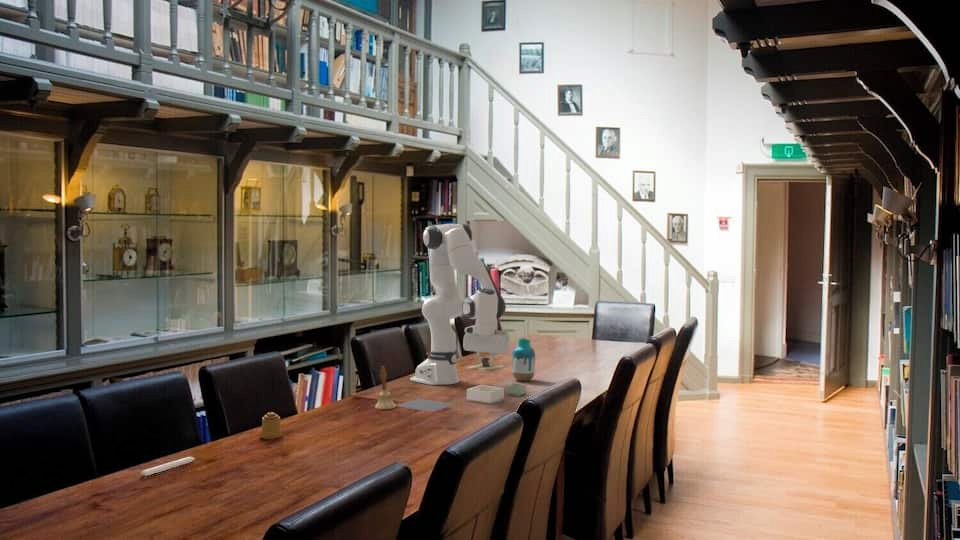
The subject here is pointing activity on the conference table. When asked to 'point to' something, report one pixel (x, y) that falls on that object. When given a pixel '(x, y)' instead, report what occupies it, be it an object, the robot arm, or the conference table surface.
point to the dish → (485, 394)
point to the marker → (167, 466)
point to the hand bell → (384, 393)
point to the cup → (515, 389)
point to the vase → (523, 360)
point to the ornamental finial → (271, 426)
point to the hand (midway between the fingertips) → (486, 363)
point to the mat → (425, 405)
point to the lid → (485, 366)
